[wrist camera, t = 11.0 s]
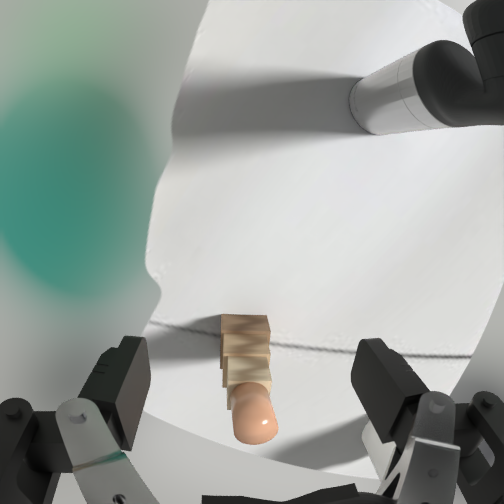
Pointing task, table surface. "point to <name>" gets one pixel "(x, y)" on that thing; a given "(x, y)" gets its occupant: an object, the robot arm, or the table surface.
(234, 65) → the table surface
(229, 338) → the tower mid
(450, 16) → the table surface
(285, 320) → the table surface
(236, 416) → the cylinder
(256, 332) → the tower base
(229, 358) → the tower top
